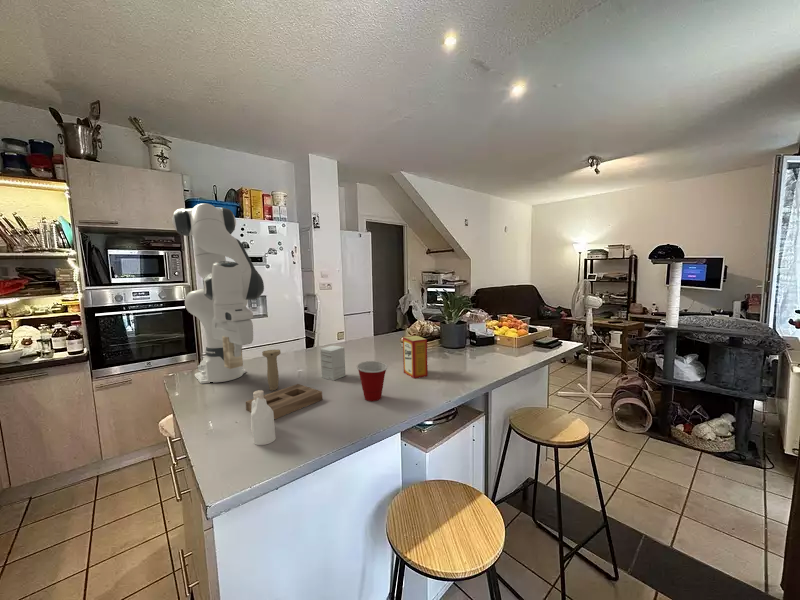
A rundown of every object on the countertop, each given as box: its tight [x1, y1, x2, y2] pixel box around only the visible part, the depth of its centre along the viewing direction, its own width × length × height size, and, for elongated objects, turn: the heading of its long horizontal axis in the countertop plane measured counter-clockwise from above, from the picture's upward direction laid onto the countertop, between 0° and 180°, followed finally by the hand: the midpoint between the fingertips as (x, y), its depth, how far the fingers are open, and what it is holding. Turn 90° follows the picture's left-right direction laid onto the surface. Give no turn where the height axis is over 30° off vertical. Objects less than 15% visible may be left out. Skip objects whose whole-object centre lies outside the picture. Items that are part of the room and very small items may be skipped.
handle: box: [262, 349, 281, 391], centre depth 125 cm, size 5×6×15 cm
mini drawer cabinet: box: [319, 345, 347, 381], centre depth 139 cm, size 7×7×13 cm
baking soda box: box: [402, 335, 429, 379], centre depth 139 cm, size 10×6×16 cm
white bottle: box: [250, 389, 267, 432], centre depth 94 cm, size 5×5×11 cm
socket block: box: [245, 383, 323, 420], centre depth 111 cm, size 14×20×3 cm
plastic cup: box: [356, 360, 389, 402], centre depth 114 cm, size 11×11×12 cm
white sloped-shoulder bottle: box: [250, 398, 276, 446], centre depth 87 cm, size 6×12×6 cm
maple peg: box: [222, 336, 244, 369], centre depth 105 cm, size 4×4×10 cm
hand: (233, 355), depth 105 cm, fingers closed on maple peg, 4 cm apart
